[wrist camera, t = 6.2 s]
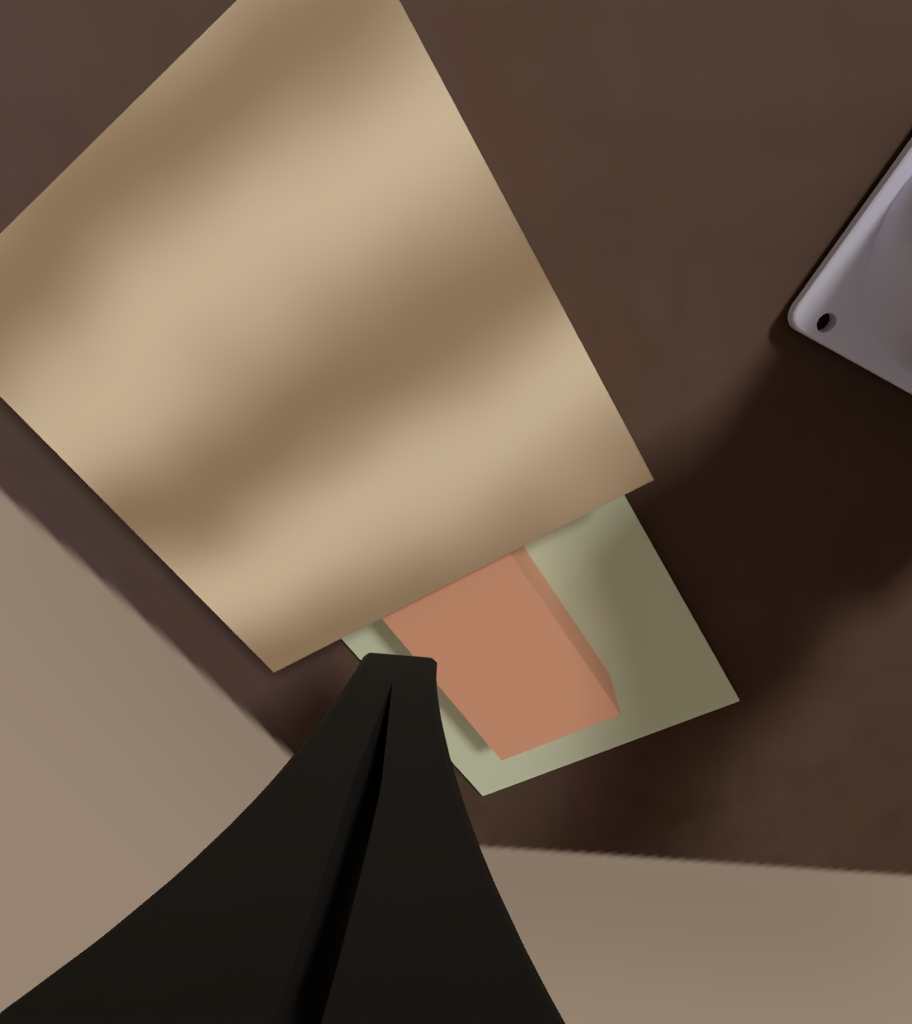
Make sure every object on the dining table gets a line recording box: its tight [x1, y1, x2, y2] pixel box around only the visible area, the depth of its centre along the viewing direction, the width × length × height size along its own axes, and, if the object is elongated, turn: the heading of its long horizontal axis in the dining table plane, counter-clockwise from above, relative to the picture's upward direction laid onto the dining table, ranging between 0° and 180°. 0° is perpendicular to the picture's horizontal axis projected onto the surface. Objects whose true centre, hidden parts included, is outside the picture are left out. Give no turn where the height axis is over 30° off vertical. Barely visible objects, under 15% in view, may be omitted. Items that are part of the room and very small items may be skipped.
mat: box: [341, 495, 740, 796], centre depth 22 cm, size 12×12×1 cm
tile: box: [382, 546, 621, 760], centre depth 21 cm, size 8×5×2 cm, turn 33°
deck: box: [0, 0, 654, 672], centre depth 17 cm, size 14×14×3 cm
